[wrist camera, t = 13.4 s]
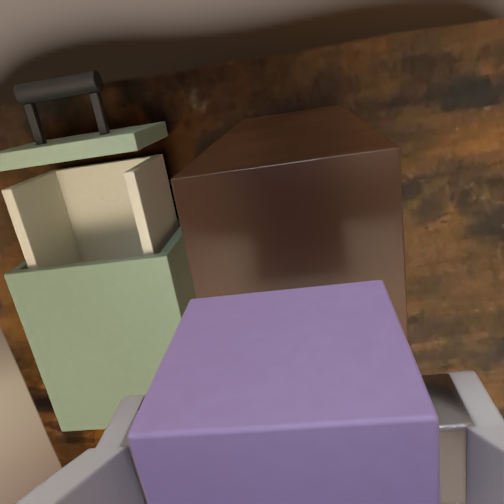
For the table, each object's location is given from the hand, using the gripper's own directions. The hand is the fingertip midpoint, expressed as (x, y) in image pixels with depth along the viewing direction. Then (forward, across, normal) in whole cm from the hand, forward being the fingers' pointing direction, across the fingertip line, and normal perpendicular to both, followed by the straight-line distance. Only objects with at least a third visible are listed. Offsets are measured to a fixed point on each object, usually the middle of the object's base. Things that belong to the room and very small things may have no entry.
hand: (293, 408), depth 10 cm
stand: (+31, 0, 0) cm, 31 cm away
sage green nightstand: (+31, +16, +11) cm, 36 cm away
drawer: (+30, +16, 0) cm, 34 cm away
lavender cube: (+1, 0, 0) cm, 1 cm away
